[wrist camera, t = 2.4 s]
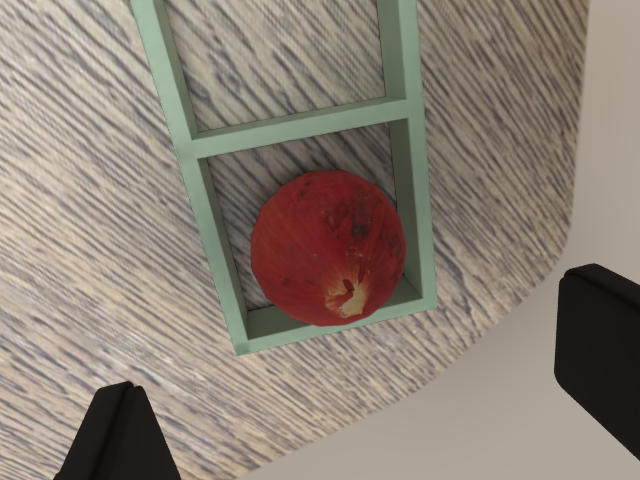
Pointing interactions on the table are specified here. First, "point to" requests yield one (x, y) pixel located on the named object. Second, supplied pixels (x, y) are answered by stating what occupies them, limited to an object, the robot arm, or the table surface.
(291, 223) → the red pomegranate
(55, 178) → the table surface
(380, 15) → the green rectangular frame
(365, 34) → the table surface
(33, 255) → the table surface
